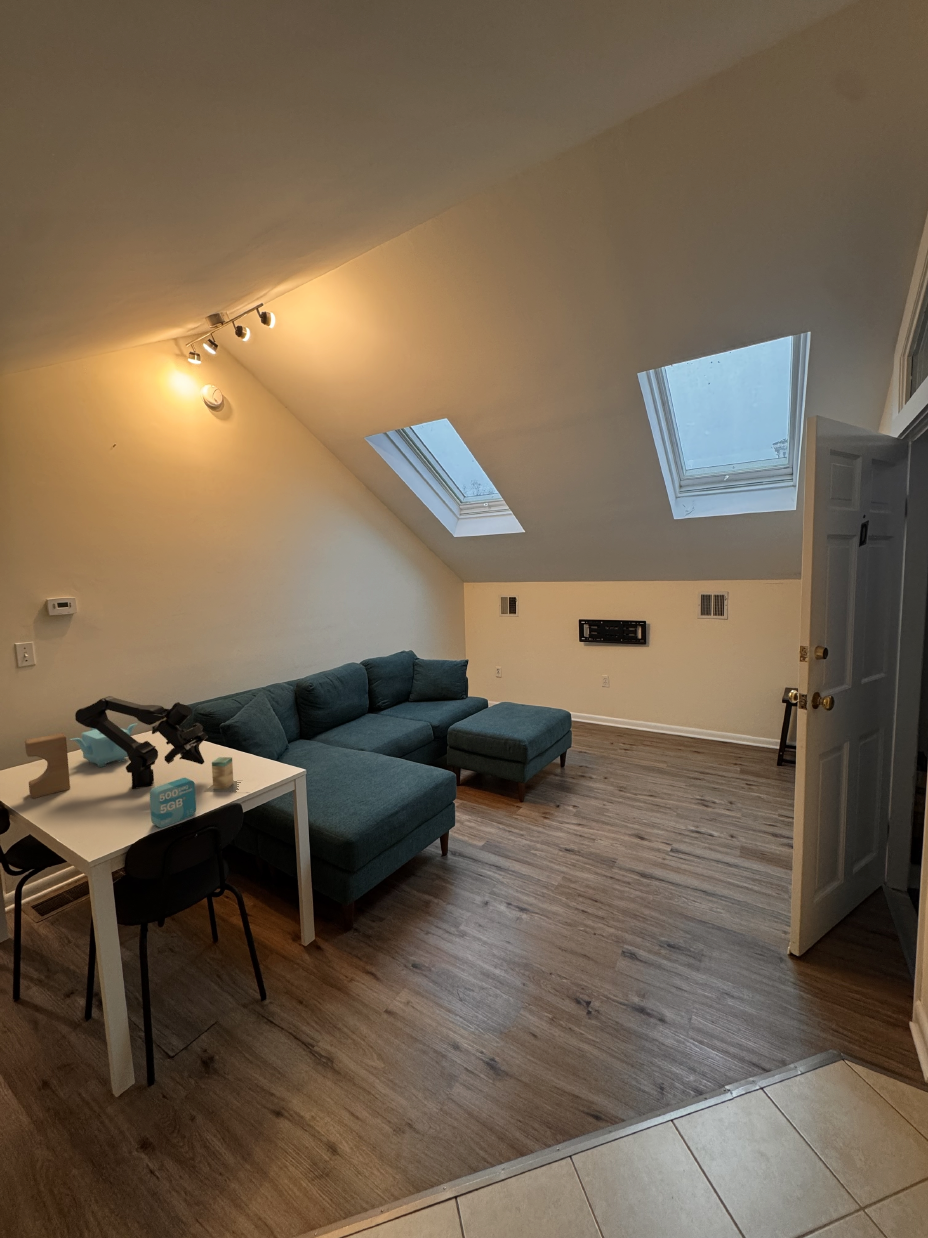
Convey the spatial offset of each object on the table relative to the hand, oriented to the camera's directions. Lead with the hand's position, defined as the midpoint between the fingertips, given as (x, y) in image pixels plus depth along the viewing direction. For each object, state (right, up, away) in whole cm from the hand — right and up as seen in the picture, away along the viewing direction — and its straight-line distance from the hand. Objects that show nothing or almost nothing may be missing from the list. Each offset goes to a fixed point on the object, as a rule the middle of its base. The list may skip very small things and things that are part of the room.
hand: (203, 763), depth 188 cm
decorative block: (-54, -9, -4) cm, 54 cm away
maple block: (+7, -8, 0) cm, 11 cm away
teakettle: (-54, -6, +26) cm, 60 cm away
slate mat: (+11, -9, 0) cm, 14 cm away
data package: (+3, -12, -24) cm, 27 cm away
